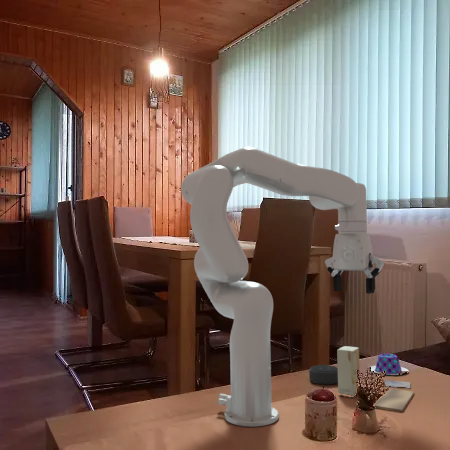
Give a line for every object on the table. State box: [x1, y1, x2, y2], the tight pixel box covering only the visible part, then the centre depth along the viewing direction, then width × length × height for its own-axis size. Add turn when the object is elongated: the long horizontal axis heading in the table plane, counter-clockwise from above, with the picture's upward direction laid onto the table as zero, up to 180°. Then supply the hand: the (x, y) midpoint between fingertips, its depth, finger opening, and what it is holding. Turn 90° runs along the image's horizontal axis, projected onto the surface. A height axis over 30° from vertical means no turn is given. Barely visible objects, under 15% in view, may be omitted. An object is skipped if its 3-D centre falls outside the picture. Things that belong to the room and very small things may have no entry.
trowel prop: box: [373, 376, 411, 389], centre depth 136 cm, size 16×5×2 cm, turn 69°
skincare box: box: [336, 345, 361, 396], centre depth 127 cm, size 6×4×12 cm
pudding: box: [370, 353, 409, 376], centre depth 150 cm, size 12×12×5 cm
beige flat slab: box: [355, 387, 415, 413], centre depth 122 cm, size 11×16×1 cm
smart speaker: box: [308, 364, 338, 386], centre depth 140 cm, size 9×9×4 cm
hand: (353, 292), depth 128 cm, fingers open, 9 cm apart
